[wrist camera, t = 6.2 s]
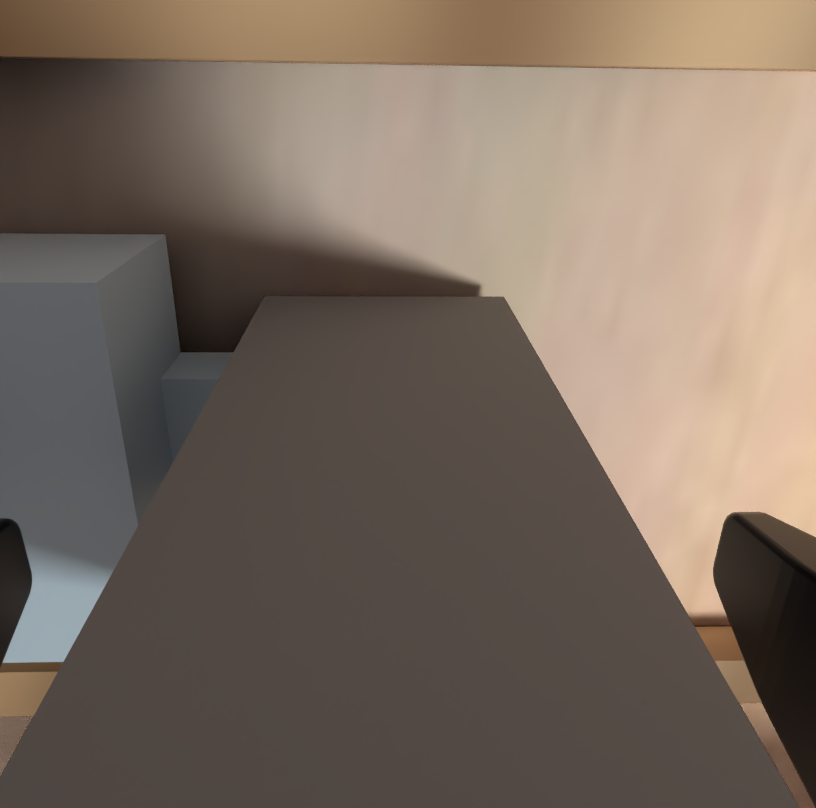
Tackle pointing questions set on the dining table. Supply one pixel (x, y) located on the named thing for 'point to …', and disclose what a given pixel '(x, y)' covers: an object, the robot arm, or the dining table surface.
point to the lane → (415, 45)
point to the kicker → (331, 563)
